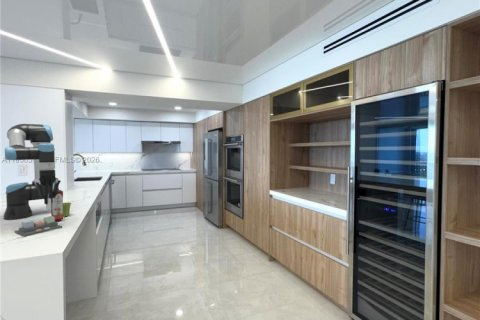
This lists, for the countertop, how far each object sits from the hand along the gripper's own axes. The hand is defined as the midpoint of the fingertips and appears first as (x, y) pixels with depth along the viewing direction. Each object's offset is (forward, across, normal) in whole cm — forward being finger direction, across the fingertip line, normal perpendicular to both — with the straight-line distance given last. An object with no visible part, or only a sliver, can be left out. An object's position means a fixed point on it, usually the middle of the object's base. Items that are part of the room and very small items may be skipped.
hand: (48, 209), depth 151 cm
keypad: (+11, -5, 0) cm, 12 cm away
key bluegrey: (+8, -10, 0) cm, 13 cm away
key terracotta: (+10, -5, 0) cm, 11 cm away
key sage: (+8, 0, 0) cm, 8 cm away
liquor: (+11, +10, +14) cm, 20 cm away
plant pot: (+11, +18, +22) cm, 31 cm away
